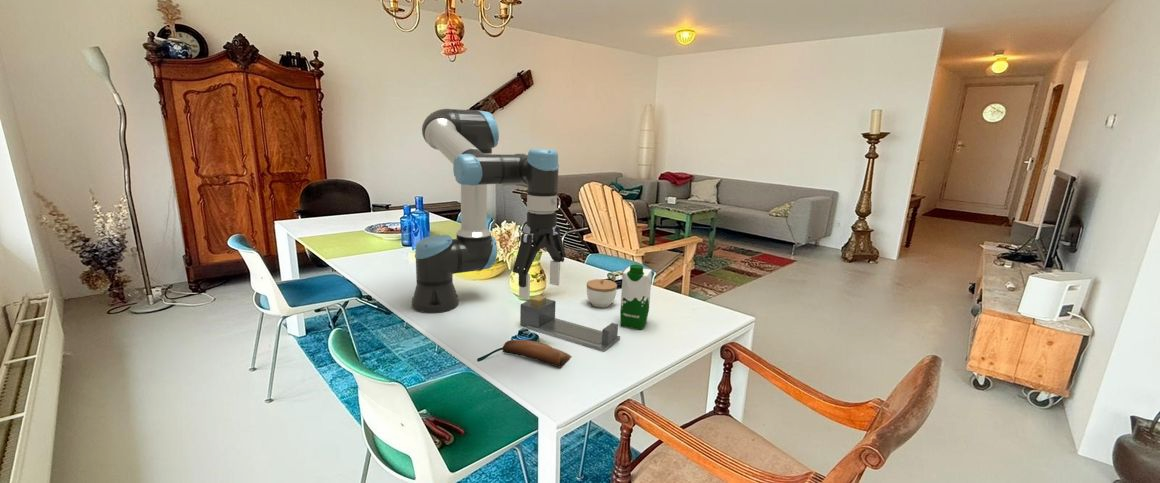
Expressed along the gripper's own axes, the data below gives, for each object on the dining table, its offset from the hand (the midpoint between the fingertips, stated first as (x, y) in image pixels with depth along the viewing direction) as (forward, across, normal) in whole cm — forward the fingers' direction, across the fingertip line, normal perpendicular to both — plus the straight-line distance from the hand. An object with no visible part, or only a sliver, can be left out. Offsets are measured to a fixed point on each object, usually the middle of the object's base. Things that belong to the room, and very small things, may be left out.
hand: (540, 291), depth 126 cm
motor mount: (+19, +18, +2) cm, 26 cm away
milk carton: (+19, +36, -12) cm, 42 cm away
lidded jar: (+19, +45, +5) cm, 49 cm away
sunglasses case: (+19, +1, +1) cm, 19 cm away
